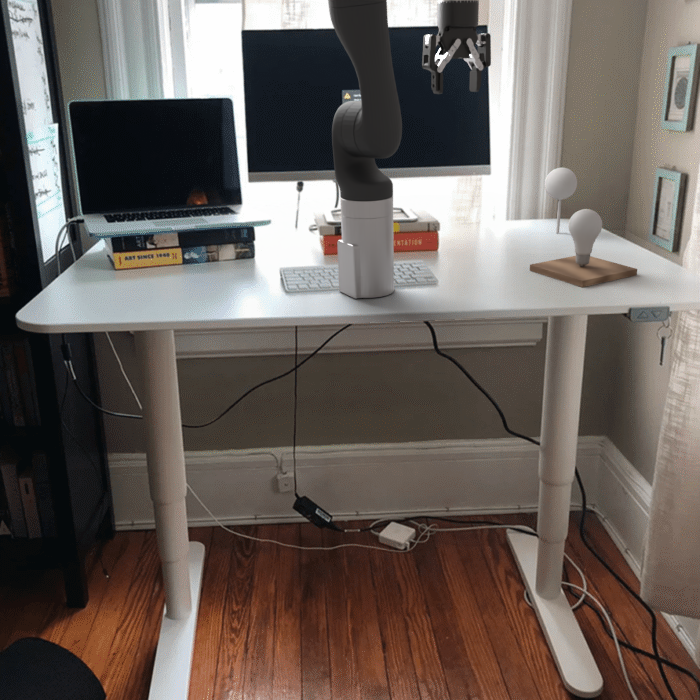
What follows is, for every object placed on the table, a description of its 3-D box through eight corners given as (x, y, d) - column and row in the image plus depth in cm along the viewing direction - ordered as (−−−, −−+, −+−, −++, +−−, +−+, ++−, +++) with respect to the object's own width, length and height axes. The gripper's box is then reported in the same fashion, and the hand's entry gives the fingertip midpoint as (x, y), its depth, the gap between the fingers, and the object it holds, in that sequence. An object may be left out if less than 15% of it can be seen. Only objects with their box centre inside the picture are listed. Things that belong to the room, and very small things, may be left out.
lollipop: (570, 229, 188) (575, 165, 182) (575, 236, 181) (580, 169, 176) (540, 230, 188) (543, 165, 183) (544, 236, 182) (547, 170, 176)
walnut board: (582, 287, 144) (582, 280, 144) (529, 270, 155) (529, 264, 155) (636, 275, 150) (637, 268, 150) (582, 259, 162) (582, 254, 161)
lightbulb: (575, 271, 149) (579, 213, 145) (559, 263, 155) (563, 207, 151) (604, 268, 151) (610, 210, 147) (588, 261, 156) (592, 205, 152)
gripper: (438, -2, 139) (437, 95, 145) (501, -2, 146) (498, 91, 152) (414, 1, 146) (414, 94, 151) (476, 1, 152) (474, 90, 158)
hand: (456, 92), depth 151 cm, fingers open, 8 cm apart
